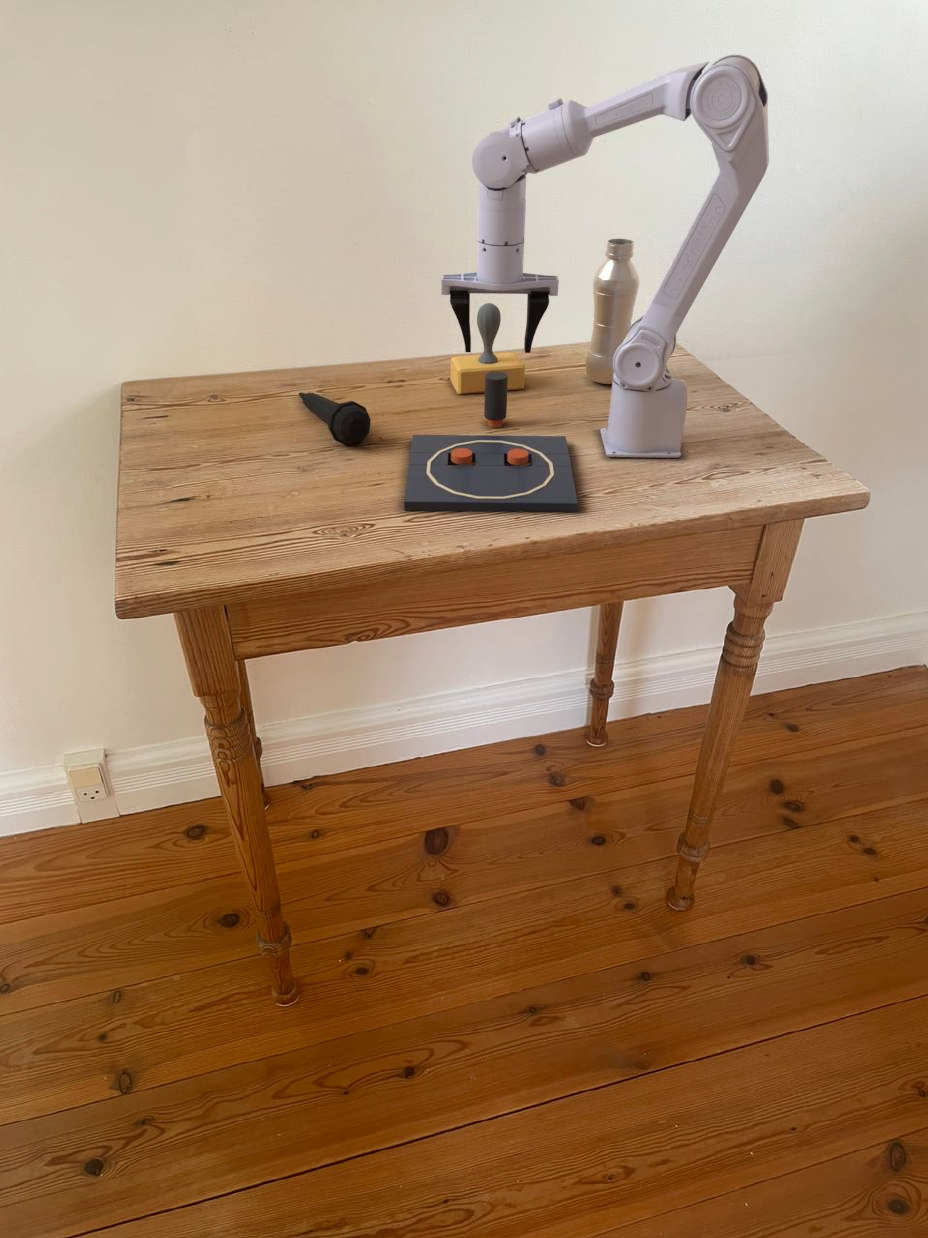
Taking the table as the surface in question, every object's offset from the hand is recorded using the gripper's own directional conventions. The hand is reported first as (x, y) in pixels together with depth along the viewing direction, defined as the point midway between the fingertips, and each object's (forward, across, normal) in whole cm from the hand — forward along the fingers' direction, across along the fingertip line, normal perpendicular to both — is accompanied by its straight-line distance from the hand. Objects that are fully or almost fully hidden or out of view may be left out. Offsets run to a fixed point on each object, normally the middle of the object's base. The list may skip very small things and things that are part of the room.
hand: (497, 349), depth 120 cm
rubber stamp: (+11, +1, -14) cm, 18 cm away
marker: (+10, 0, 0) cm, 10 cm away
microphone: (+11, +22, 0) cm, 24 cm away
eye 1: (+10, +4, +13) cm, 17 cm away
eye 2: (+10, -2, +13) cm, 17 cm away
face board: (+10, +1, +15) cm, 18 cm away
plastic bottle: (+11, -17, -16) cm, 26 cm away
